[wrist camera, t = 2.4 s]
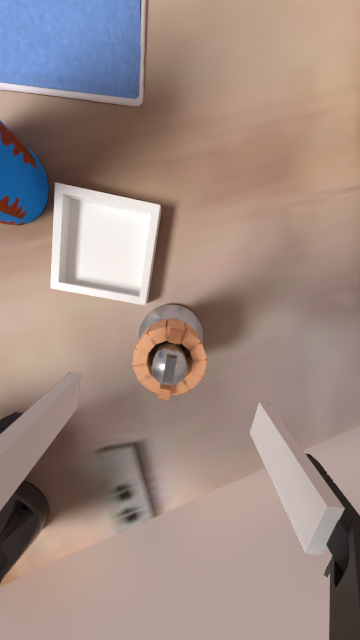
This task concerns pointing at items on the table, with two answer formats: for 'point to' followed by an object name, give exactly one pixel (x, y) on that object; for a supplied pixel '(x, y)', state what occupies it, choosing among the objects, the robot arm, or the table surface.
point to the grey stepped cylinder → (170, 344)
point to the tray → (103, 244)
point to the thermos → (20, 181)
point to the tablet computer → (74, 49)
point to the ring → (174, 334)
